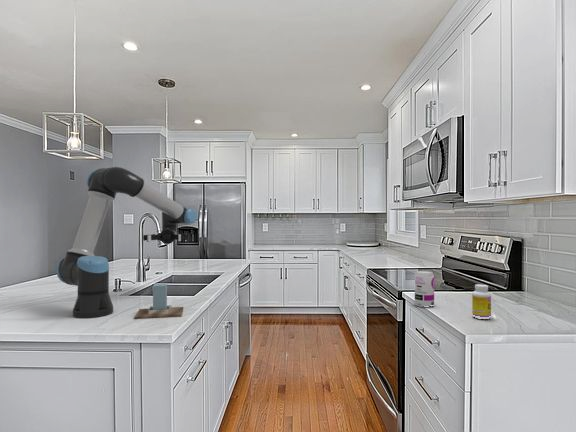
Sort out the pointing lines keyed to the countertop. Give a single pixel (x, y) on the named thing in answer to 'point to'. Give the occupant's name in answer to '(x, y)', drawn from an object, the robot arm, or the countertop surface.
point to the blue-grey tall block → (160, 297)
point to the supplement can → (424, 288)
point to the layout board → (159, 312)
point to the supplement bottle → (481, 301)
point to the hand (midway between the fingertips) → (164, 238)
